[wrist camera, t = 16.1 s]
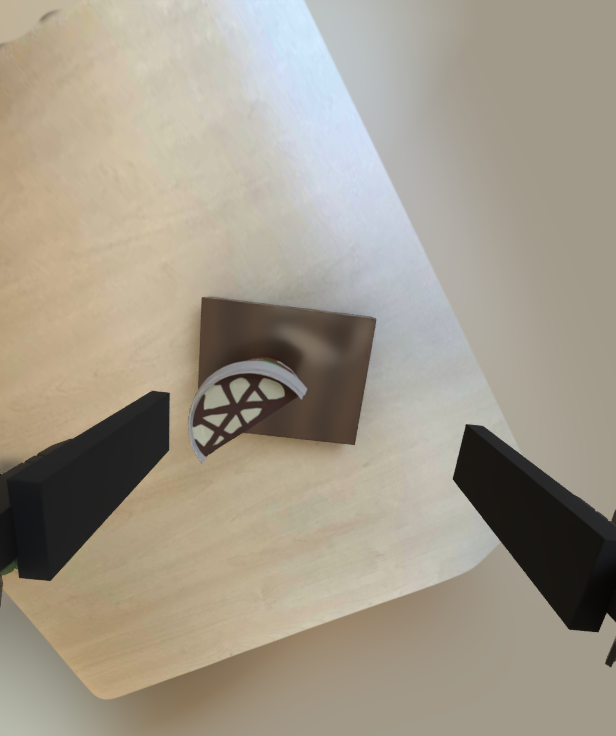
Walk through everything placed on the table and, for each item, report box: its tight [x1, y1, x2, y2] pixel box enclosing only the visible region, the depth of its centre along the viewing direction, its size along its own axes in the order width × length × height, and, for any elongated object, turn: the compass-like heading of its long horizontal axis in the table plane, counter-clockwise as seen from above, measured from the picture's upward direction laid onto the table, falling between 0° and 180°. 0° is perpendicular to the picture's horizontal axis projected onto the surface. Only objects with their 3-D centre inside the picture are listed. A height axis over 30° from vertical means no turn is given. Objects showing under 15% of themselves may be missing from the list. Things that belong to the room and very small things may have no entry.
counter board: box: [198, 297, 376, 445], centre depth 39 cm, size 20×16×3 cm
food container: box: [188, 357, 307, 463], centre depth 32 cm, size 12×6×10 cm, turn 124°
